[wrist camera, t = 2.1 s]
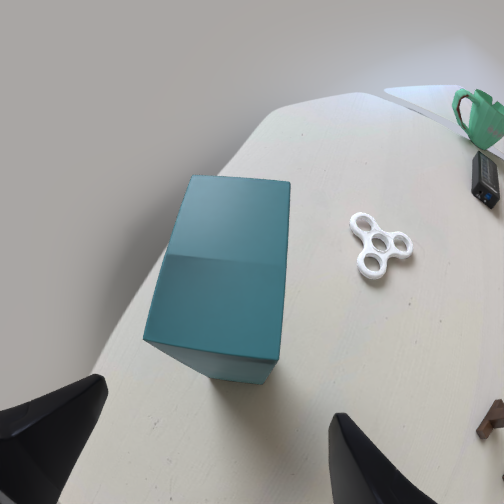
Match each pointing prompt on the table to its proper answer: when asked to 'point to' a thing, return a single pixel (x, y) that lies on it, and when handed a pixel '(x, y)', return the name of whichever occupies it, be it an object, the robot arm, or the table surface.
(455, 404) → the table surface
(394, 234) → the fidget spinner
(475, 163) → the multiport hub
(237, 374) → the teal angular block
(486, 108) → the mug
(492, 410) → the rack
